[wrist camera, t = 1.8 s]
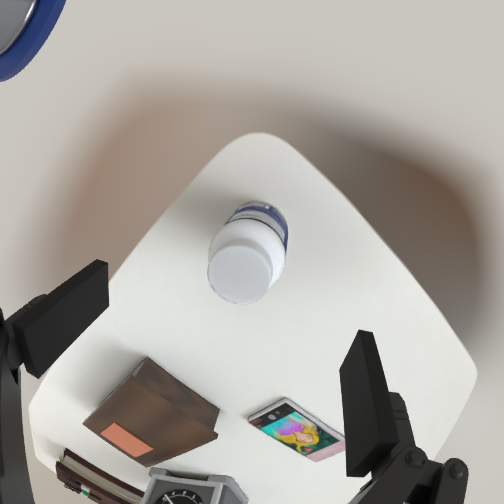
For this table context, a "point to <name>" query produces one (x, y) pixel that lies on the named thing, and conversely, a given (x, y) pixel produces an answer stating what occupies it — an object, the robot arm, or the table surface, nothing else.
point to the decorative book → (94, 482)
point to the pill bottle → (248, 253)
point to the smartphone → (298, 430)
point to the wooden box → (153, 416)
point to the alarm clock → (191, 490)
